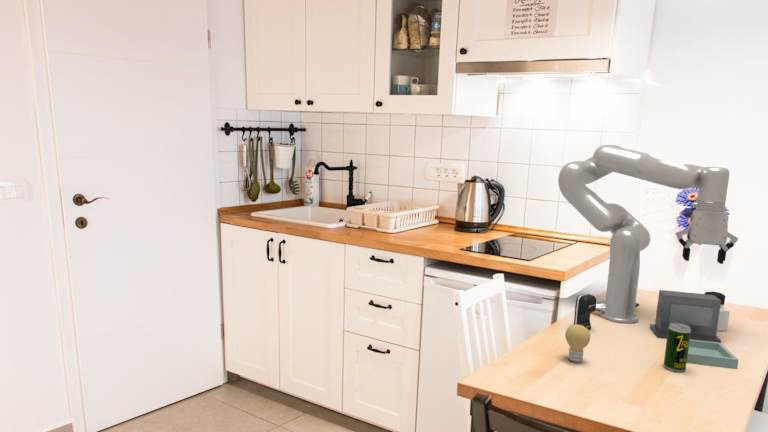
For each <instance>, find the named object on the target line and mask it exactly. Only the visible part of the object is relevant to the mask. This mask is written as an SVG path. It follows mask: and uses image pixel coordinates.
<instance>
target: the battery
mask: <svg viewBox="0 0 768 432" xmlns="http://www.w3.org/2000/svg"><path fill="white" fill-rule="evenodd" d="M596 303H597V297H596V296H595V295H594V294H590V293H583V294H582V293H581V294H579V295H578V296H576V301H575V307H574V316H573V317H574V318H573V325H582V326H584V327H586V328H587V329H588V330H592V325H591V313H595V312H596V311H597V310H596Z"/></svg>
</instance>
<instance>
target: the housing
mask: <svg viewBox="0 0 768 432" xmlns="http://www.w3.org/2000/svg"><path fill="white" fill-rule="evenodd" d="M720 305H721V300H720V299H718V298H717V297H716V296H714V295H707V294H704V293H697V292H696V293H695V292H688V291H687V292H685V291H677V290H676V291H674V290H665V289H659V292H658V297H657V306H656V313H655V319H654V320H655V322H654V323H650V325H649V329H650V331H652V333H653V334H654V336H655V337H656V338H658V339H664V338H665V340H667V335H668V327H669V326H670V323H681V324H685V325H688V326H689V327H690V330H691V335H690V339H691V340H700V341H709V342H718V343H721V344H722V340H721V338H719V337H718V336H717V326H718V319H719V312H720Z"/></svg>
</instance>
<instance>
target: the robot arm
mask: <svg viewBox="0 0 768 432" xmlns="http://www.w3.org/2000/svg"><path fill="white" fill-rule="evenodd" d="M611 173H616V174H620V175H624V176H628V177H632V178H636V179H637V180H642V181H647V182H649V183H653V184H656V185H661V186H663V187H668V188H673V189H677V190H687V189H698V193H697V199H696V200H695V202H691V207H692V208H693V207H694V208H695V209H694V210H693V211H692V213H691V217H690V219H689V223H688V227H687V228H685V229H682V230H679V231H676V232H675V236H676V238H677V240H678V242H679V243H680V244H681V246H682V255H681V256H682V258H683V260H685V262H689V261H690V256H691V255H690V254H691V248H690V247H691V246H692V245H693V244H699V245H700V244H701V245H712V246H718V247H719V249H718V251H717V259H716V262H717V263H718V264H720V265H723V264H724V262H725V261H726V255H727V252H728V251H729V250H730V249H731V248H733V247H735V246H734V245H735V244H736V243H737V242H738V240H739V238H738V237H737V236H735V235H733V234H732V233H730V232H728V231H729V230H728V229H729V227H728V225H729V224H728V213H727V212H725V207H726V201H727V194H728V186H729V179H730V171H729V169H728V168H726V167H722V166H720V167H719V166H718V167H717V166H700V165H697V164H696V165H695V164H681V163H677V162H676V163H675V162H671V161H667V160H663V159H660V158H656V157H653V156H651V154H648V153H646V152H641V151H637V150H633V149H628V148H625V147H622V146H619V145H617V144H602V145H600V146H598V147H597V148H596V149H595V151H594V152H593V156H591V157H589V158H587V159H585V160H579V161H578V160H577V161H576V160H575V161H570V162H568V163H566V164H564V165H563V166H562V168H561V169H560V170H559V174H558V179H557V180H558V182H557V183H558V187H559V188H558V189H559V190H560V191H559V192H560V193H561V194H562V196H563V197H564V199H565V200H566V201H567V202H568V203H569V204H570V205H571V206H572V207H573V208H574V209H575V210H576V211H577V212H578V213H579V214H580V215H581V216H582V217H583V218H584V219H585V220H586V221H587V222H589V225H591V226H592V227H593V228H595V230H596V231H598V232H602V233H604V232H605V233H606V232H610V233H611V234H612V235H611V237H610V240H609V265H608V276H607V282H606V293H605V300H602V302H600V303H597V302H596V310H595V311H599V313H598V314H599V315H600V317H602V318H603V319H606V320H608V321H612V322H616V323H624V324H625V323H626V324H633V323H637V322H639V320H640V317H639V316H638V314H636V313H635V312H636V302H637V294H638V285H639V278H640V277H639V276H640V271H641V270H640V267H641V251H644V250H646V249H647V248H648V247H649V245H650V244H651V233H650V232H649V230H648V229H647V227H645V226H644V225H643V224H642V223H641V222H640V221H639V220H638V219H637V218H636V217H634V215H633V214H631V213H630V211H628V210H627V209H626V208H625V207H623V206H622V205H620V204H619V203H618V204H617V203H611V202H610V203H607V202H606V201H604V199H602V198H601V197H600V196H599V195H597V193H596V192H595V191H593V190H592V189H590V188H589V187H588V186H587V185H588V184H592V183H595V182H596V181H598V180H600V179H602V178H604V177H606V176H608V175H610V174H611ZM684 235H686V237H687V238H686V240H684V238H683V236H684ZM728 238H729V239H730V240H729V241H728ZM727 241H728V242H727Z"/></svg>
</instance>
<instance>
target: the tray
mask: <svg viewBox="0 0 768 432" xmlns="http://www.w3.org/2000/svg"><path fill="white" fill-rule="evenodd" d="M687 364H695V365H702V366H703V365H704V366H711V367H718V368H727V369H729V368H730V369H738V366H739V359H738V358H737V356H735V355H734V354H733V353H732V352H731V351H730V349H728V348H726V347H725V346H724V345H723V343H722V342H721V343H718V342H709V341H700V340H691V339H690V342H689V349H688V357H687Z"/></svg>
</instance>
